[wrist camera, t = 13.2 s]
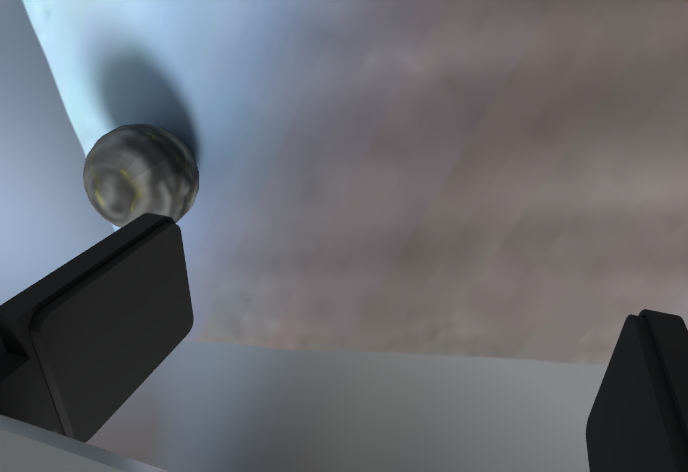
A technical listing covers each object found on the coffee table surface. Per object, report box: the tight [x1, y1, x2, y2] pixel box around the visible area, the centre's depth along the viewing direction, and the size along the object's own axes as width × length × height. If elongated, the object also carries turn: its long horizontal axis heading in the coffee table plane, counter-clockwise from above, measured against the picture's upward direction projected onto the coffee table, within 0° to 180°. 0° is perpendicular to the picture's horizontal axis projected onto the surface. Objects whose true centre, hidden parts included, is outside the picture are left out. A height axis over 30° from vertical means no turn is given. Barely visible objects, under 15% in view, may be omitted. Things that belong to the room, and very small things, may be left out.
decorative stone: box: [83, 124, 199, 228], centre depth 47 cm, size 10×10×10 cm
